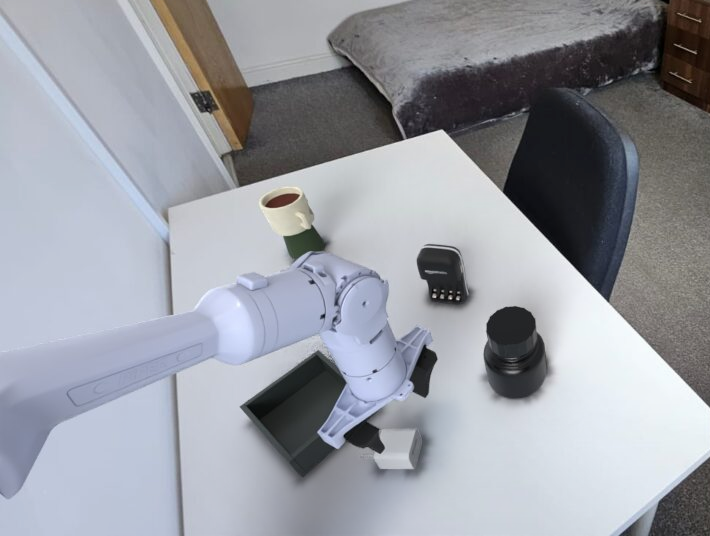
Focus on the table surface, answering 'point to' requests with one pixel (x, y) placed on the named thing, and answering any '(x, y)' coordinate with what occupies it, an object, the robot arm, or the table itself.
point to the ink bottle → (514, 353)
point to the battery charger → (443, 273)
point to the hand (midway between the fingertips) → (399, 419)
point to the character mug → (292, 220)
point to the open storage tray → (299, 410)
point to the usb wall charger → (398, 449)
